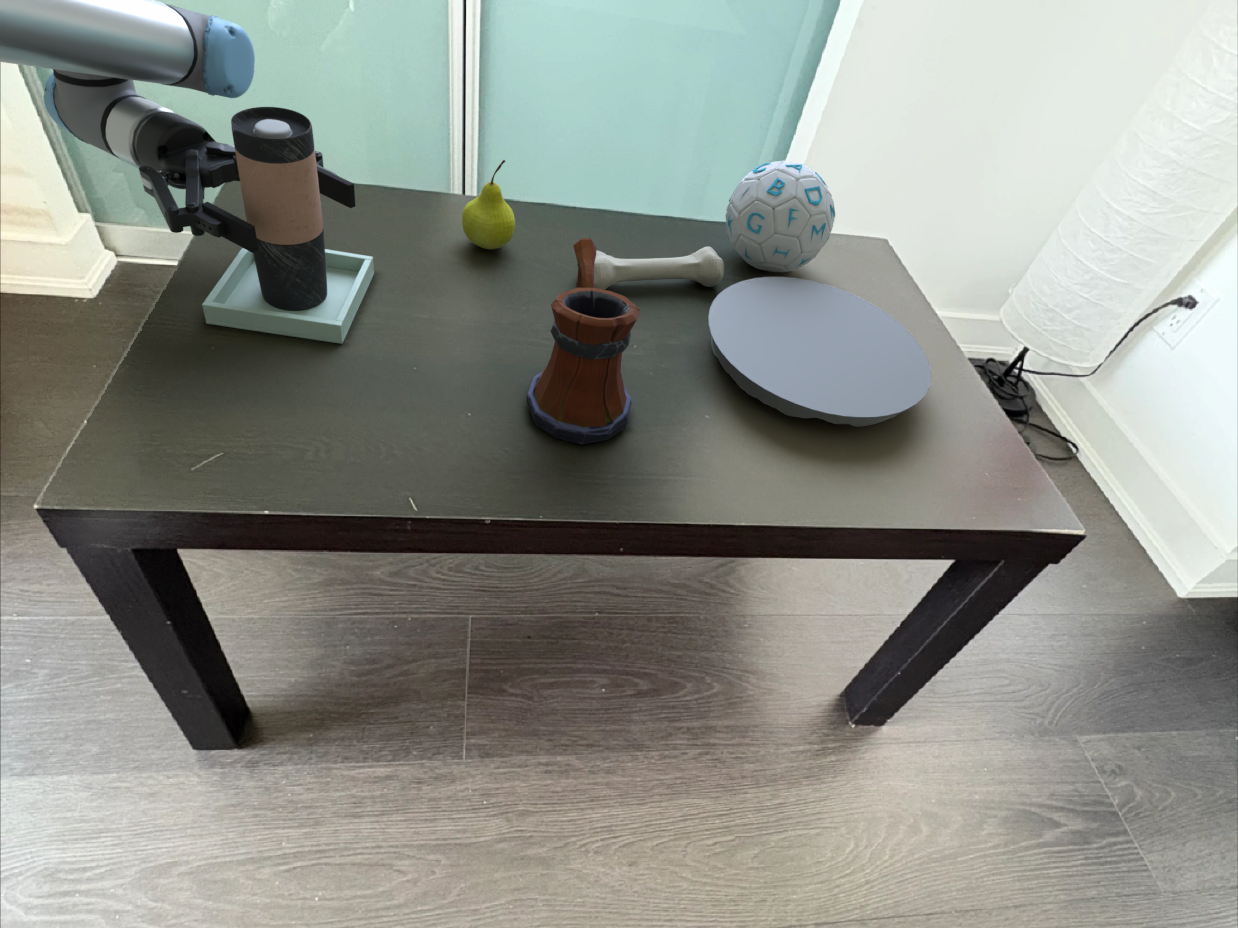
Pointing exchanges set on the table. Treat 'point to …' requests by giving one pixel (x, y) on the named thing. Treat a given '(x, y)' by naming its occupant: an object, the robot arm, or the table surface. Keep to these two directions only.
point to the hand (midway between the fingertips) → (306, 216)
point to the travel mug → (282, 204)
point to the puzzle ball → (780, 216)
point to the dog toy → (659, 268)
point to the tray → (330, 321)
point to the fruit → (489, 218)
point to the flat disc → (817, 351)
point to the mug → (585, 360)
